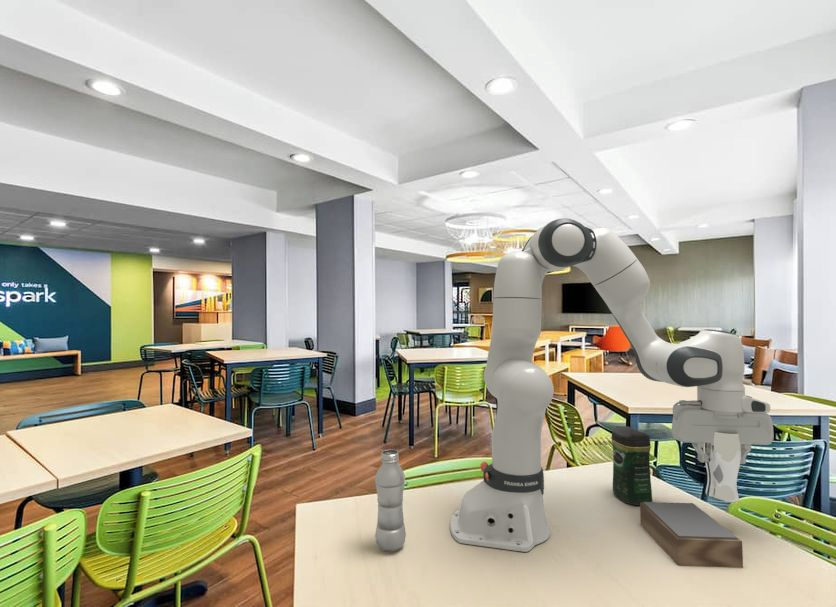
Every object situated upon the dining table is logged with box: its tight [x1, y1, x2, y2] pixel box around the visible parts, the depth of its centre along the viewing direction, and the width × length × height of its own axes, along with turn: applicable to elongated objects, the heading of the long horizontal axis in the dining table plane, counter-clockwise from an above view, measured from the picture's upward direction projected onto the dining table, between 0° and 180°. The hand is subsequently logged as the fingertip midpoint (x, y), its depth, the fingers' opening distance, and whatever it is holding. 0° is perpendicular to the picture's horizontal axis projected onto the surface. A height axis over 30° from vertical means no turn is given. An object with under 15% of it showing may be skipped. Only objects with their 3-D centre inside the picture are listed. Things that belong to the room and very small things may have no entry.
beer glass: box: [702, 432, 741, 503], centre depth 94 cm, size 7×7×15 cm
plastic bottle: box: [374, 449, 407, 552], centre depth 89 cm, size 6×7×20 cm
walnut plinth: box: [639, 501, 744, 568], centre depth 89 cm, size 12×16×5 cm
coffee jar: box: [611, 425, 653, 506], centre depth 111 cm, size 10×8×19 cm
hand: (721, 462), depth 94 cm, fingers closed on beer glass, 6 cm apart
